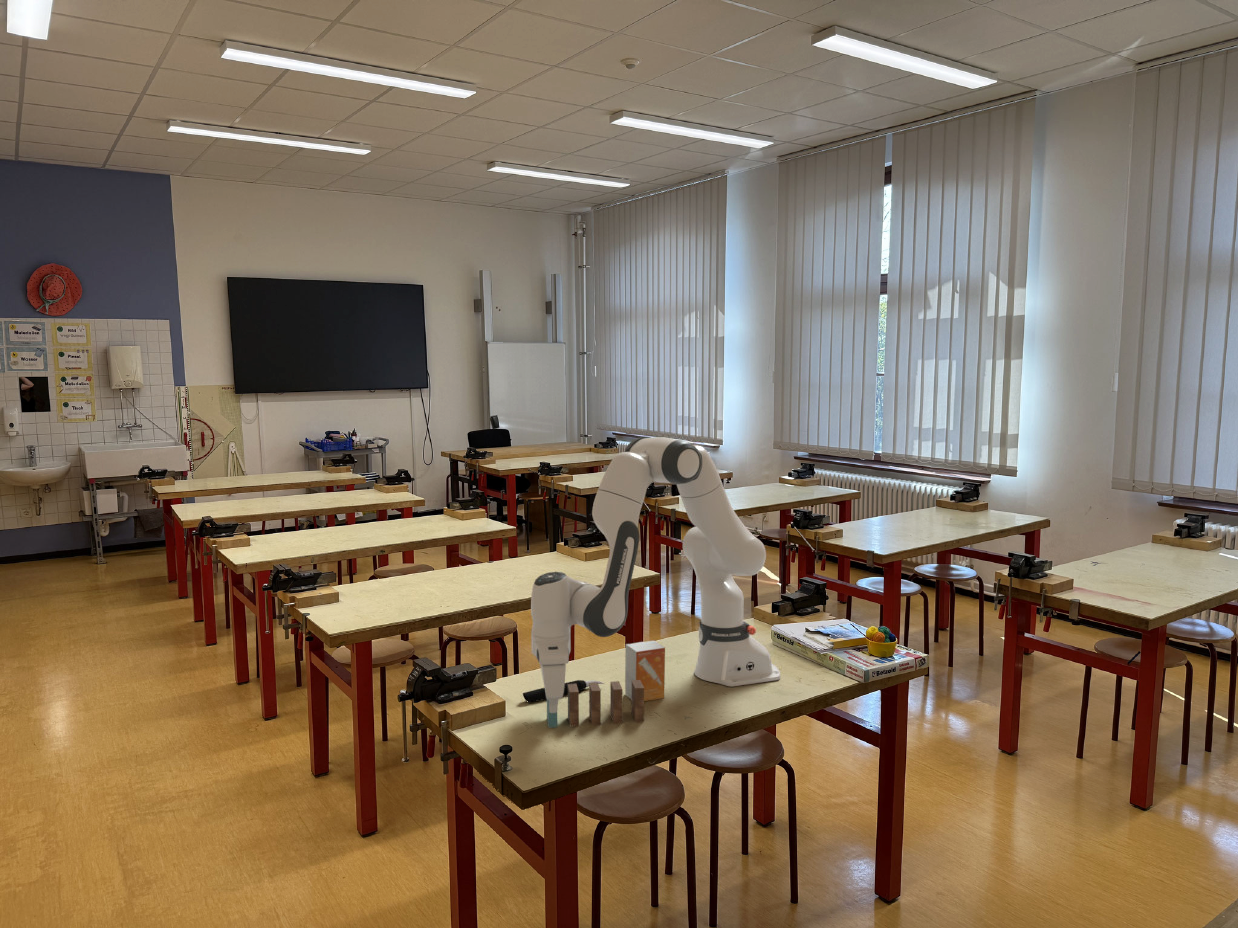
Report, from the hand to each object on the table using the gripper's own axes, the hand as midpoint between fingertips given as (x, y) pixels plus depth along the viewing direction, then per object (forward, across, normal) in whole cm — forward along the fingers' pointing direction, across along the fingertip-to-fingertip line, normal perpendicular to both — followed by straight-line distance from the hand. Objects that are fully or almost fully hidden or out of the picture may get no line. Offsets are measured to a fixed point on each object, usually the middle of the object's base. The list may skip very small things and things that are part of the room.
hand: (551, 703), depth 190 cm
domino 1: (+5, 0, 0) cm, 5 cm away
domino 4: (+5, 0, +15) cm, 16 cm away
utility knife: (+5, -16, +4) cm, 18 cm away
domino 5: (+5, 0, +20) cm, 21 cm away
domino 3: (+5, 0, +10) cm, 11 cm away
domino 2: (+5, 0, +5) cm, 7 cm away
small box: (+5, -12, +24) cm, 27 cm away
